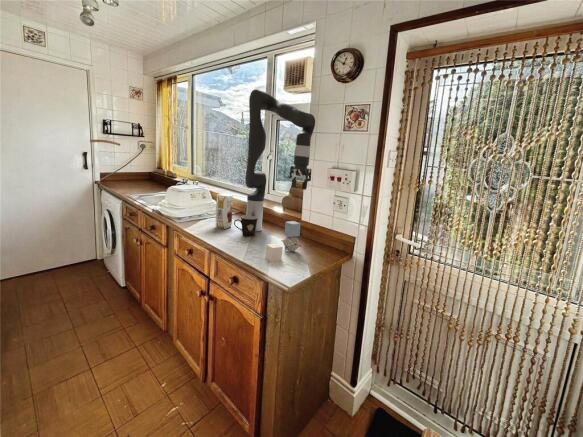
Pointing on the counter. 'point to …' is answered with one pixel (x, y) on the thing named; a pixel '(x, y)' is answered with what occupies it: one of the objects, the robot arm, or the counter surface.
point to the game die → (291, 243)
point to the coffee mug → (248, 225)
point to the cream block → (273, 252)
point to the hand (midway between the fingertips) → (298, 188)
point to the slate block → (292, 228)
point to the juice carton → (224, 210)
